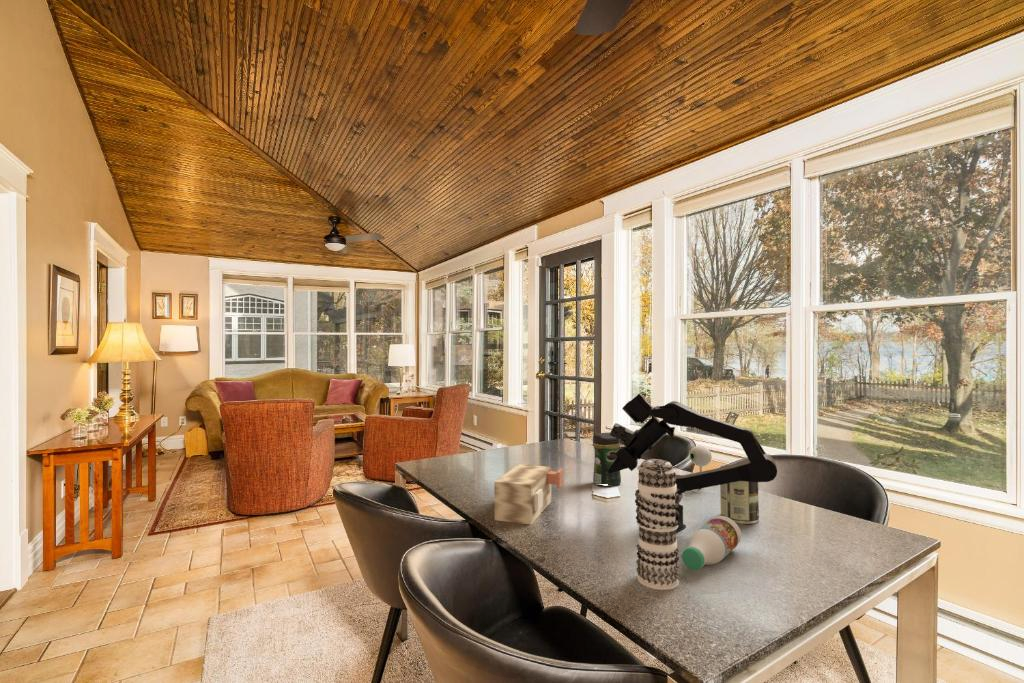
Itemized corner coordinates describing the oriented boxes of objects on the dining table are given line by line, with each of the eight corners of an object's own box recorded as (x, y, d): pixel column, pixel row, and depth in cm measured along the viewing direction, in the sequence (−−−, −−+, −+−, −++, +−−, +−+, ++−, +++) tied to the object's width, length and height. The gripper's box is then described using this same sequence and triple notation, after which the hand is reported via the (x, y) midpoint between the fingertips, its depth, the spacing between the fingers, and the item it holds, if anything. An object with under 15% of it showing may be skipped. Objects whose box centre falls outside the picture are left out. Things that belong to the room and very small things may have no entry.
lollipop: (685, 486, 169) (685, 444, 169) (702, 484, 171) (702, 443, 171) (699, 492, 162) (698, 448, 162) (716, 490, 164) (716, 447, 165)
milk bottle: (731, 553, 116) (698, 586, 102) (704, 530, 121) (668, 558, 106) (748, 531, 113) (716, 561, 99) (719, 508, 118) (684, 533, 104)
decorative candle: (687, 579, 101) (686, 460, 101) (669, 595, 94) (668, 469, 94) (647, 566, 107) (646, 454, 107) (627, 581, 100) (626, 462, 101)
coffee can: (748, 511, 143) (747, 464, 143) (766, 524, 133) (765, 473, 133) (713, 511, 143) (713, 464, 143) (729, 524, 132) (729, 473, 133)
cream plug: (542, 505, 138) (542, 489, 138) (538, 511, 133) (538, 493, 133) (504, 501, 142) (503, 485, 142) (498, 506, 137) (498, 489, 137)
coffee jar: (612, 479, 178) (611, 430, 178) (624, 485, 171) (623, 433, 171) (589, 482, 175) (589, 431, 175) (601, 488, 167) (600, 435, 168)
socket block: (551, 501, 153) (551, 466, 153) (531, 524, 133) (531, 485, 133) (518, 497, 157) (518, 464, 157) (494, 520, 136) (494, 481, 136)
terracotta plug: (563, 484, 151) (563, 468, 151) (559, 488, 146) (559, 472, 147) (527, 480, 155) (527, 466, 155) (522, 484, 150) (522, 469, 151)
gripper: (630, 410, 144) (594, 444, 147) (623, 419, 126) (582, 457, 130) (657, 438, 141) (620, 472, 145) (654, 450, 124) (611, 489, 127)
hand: (608, 472), depth 137 cm, fingers closed
